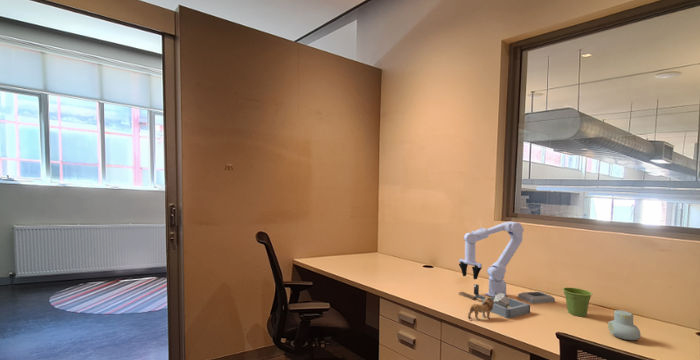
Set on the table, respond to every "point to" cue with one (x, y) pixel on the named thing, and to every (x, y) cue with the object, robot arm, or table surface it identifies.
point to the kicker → (476, 292)
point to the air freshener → (624, 326)
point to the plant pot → (577, 301)
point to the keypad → (536, 297)
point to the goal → (511, 309)
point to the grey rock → (501, 300)
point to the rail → (467, 295)
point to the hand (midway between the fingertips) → (469, 277)
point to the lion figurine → (482, 308)
